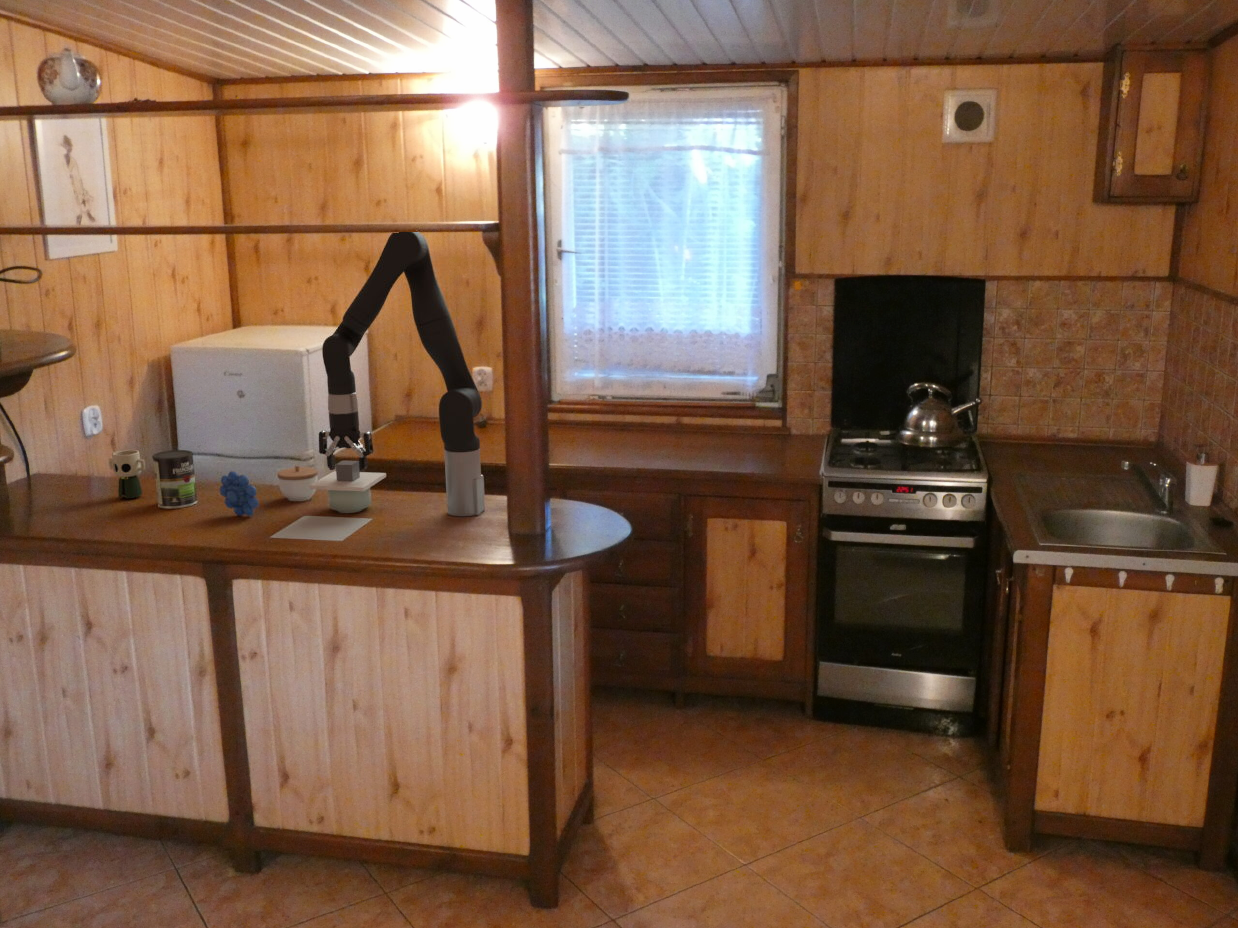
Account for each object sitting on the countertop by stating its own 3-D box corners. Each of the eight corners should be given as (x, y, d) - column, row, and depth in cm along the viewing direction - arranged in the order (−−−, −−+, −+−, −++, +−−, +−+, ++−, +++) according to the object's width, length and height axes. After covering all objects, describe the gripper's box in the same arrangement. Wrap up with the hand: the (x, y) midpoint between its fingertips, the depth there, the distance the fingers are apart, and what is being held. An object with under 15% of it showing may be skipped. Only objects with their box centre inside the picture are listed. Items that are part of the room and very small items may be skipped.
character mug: (105, 500, 311) (99, 454, 308) (121, 493, 318) (115, 449, 315) (140, 501, 309) (135, 456, 306) (155, 494, 316) (150, 450, 313)
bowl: (377, 505, 303) (376, 478, 301) (361, 517, 292) (359, 488, 291) (339, 503, 305) (337, 476, 303) (322, 515, 294) (320, 487, 293)
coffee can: (206, 502, 308) (200, 452, 305) (174, 511, 300) (168, 460, 297) (181, 497, 314) (176, 448, 310) (149, 505, 305) (143, 455, 302)
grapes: (211, 518, 293) (207, 473, 290) (228, 511, 299) (224, 467, 296) (248, 522, 289) (244, 477, 286) (264, 515, 295) (260, 471, 292)
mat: (372, 519, 290) (372, 518, 290) (341, 542, 272) (341, 540, 272) (304, 516, 293) (304, 515, 293) (269, 538, 275) (269, 537, 275)
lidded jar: (325, 493, 315) (322, 461, 313) (311, 504, 305) (308, 471, 303) (288, 493, 316) (285, 461, 314) (273, 503, 306) (270, 470, 304)
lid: (386, 476, 303) (384, 456, 301) (363, 491, 288) (362, 470, 287) (334, 474, 305) (332, 455, 304) (309, 489, 291) (308, 468, 290)
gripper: (374, 407, 294) (378, 467, 298) (324, 406, 297) (328, 465, 301) (363, 413, 287) (367, 474, 291) (311, 411, 290) (316, 472, 294)
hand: (347, 469), depth 296 cm, fingers open, 8 cm apart
